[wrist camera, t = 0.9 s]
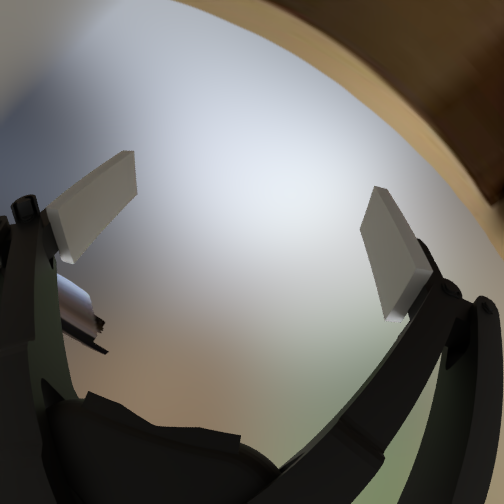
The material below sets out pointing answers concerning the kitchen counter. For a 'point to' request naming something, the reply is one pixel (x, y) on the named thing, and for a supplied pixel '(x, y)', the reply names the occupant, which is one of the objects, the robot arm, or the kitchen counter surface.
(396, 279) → the robot arm
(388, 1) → the kitchen counter surface
